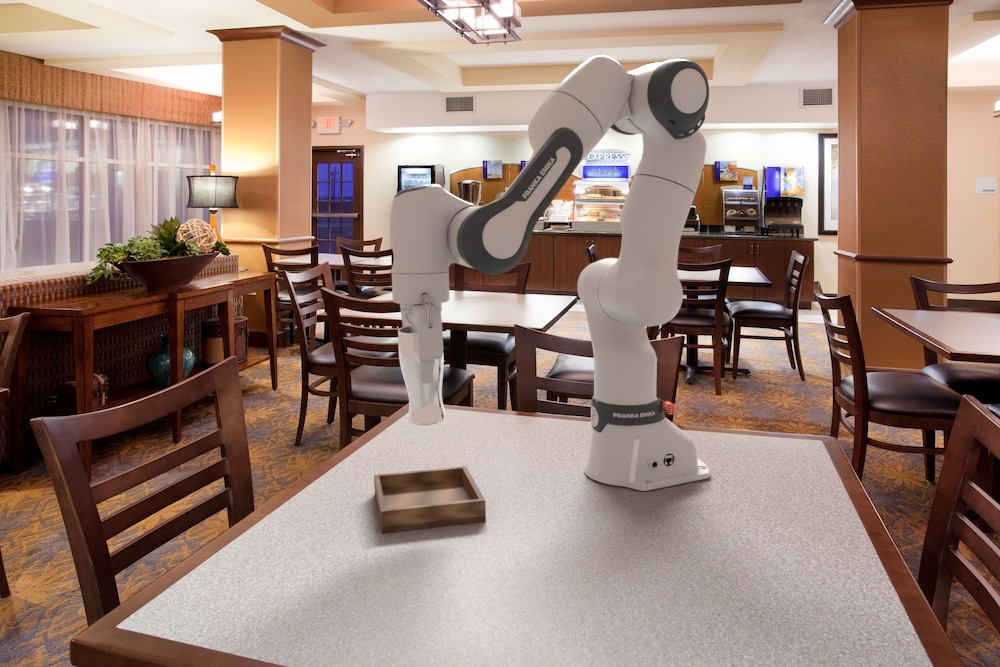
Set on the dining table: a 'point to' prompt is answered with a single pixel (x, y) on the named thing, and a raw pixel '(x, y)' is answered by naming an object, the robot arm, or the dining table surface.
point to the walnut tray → (428, 499)
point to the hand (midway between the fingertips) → (423, 377)
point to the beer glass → (420, 384)
